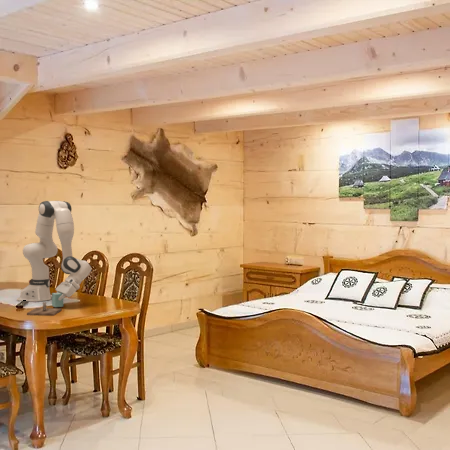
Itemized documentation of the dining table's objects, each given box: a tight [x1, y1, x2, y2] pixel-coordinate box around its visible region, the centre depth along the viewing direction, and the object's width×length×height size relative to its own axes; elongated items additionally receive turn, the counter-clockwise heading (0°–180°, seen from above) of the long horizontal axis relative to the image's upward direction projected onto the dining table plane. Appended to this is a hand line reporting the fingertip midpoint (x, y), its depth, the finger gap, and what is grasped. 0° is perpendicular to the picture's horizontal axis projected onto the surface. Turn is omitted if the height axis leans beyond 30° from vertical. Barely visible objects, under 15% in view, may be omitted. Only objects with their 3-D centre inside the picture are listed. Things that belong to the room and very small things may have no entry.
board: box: [26, 301, 63, 317], centre depth 366 cm, size 16×16×6 cm
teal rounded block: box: [51, 292, 64, 308], centre depth 383 cm, size 5×6×8 cm
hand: (56, 299), depth 383 cm, fingers closed on teal rounded block, 6 cm apart
